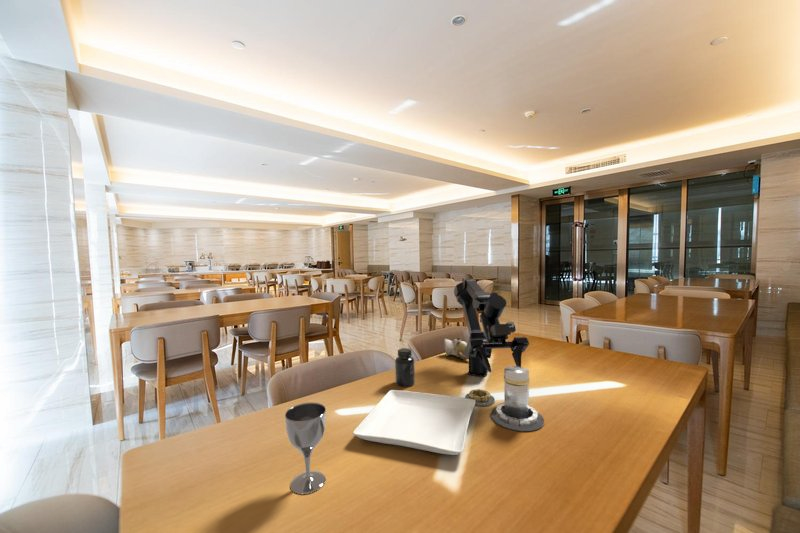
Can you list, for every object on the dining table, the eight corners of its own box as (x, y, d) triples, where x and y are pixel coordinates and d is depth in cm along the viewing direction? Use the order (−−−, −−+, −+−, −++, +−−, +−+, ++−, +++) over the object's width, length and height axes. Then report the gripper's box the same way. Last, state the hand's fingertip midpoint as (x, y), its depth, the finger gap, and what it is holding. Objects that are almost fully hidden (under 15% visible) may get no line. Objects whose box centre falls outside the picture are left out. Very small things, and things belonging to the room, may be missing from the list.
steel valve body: (499, 415, 94) (498, 369, 93) (512, 407, 98) (512, 364, 97) (520, 424, 89) (520, 376, 88) (534, 416, 93) (534, 370, 92)
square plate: (476, 410, 99) (476, 397, 99) (462, 468, 73) (462, 451, 73) (390, 398, 108) (390, 387, 107) (351, 446, 82) (350, 431, 82)
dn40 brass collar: (461, 402, 103) (461, 396, 103) (469, 391, 111) (469, 385, 111) (491, 408, 99) (491, 402, 99) (497, 396, 107) (497, 390, 107)
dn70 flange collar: (485, 424, 90) (485, 417, 90) (496, 402, 103) (495, 396, 103) (542, 436, 84) (542, 428, 84) (545, 412, 96) (545, 405, 96)
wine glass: (292, 470, 73) (290, 403, 72) (330, 468, 73) (328, 401, 72) (283, 498, 65) (280, 422, 64) (325, 494, 65) (322, 419, 65)
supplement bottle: (410, 378, 123) (410, 346, 123) (417, 385, 117) (417, 351, 116) (393, 381, 121) (392, 348, 120) (399, 388, 115) (398, 354, 114)
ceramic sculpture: (449, 332, 155) (480, 338, 146) (449, 350, 156) (479, 357, 147) (438, 337, 146) (471, 344, 138) (438, 357, 147) (470, 365, 138)
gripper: (469, 313, 104) (481, 360, 94) (526, 311, 106) (544, 357, 96) (462, 332, 113) (472, 377, 102) (515, 330, 114) (531, 373, 104)
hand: (505, 371), depth 101 cm, fingers open, 9 cm apart
